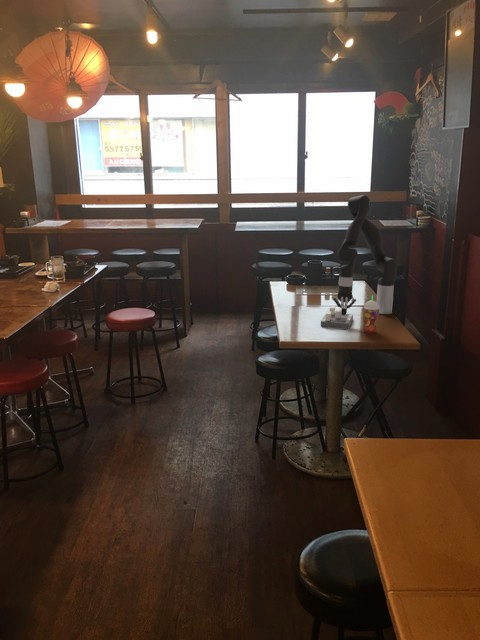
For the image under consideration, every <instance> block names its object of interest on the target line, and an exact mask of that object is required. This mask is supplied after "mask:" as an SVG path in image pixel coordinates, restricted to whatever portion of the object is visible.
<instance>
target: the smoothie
mask: <svg viewBox="0 0 480 640" xmlns="http://www.w3.org/2000/svg"><path fill="white" fill-rule="evenodd" d="M379 308H380V307H379V305H378V303H377V302H376V300H374V295H371V300H368V301H366V302H365V304H364V305H363V310H362V311H363V312H362V314H363V320H362V321H363V326H362V327H363V328H362V330H363V332H364V333H367V334H375V333H376V331H377V329H378V327H377V326H378V321H379Z"/></svg>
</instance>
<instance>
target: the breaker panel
mask: <svg viewBox="0 0 480 640" xmlns="http://www.w3.org/2000/svg"><path fill="white" fill-rule="evenodd" d="M325 320H326V314H324V316H323V318H322V319H321V320H320V327H321V328H323V327H324V328H330V329H331V328H332V329H333V328H335V329H343V330H349V328H350V326H351V324H352V323H353V320H354V314H353V313H351V314H350V313H346V314H345V315H342V314H341V317H340V319H337V318H335V314H334V315H331V320H330V321H325Z"/></svg>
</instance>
